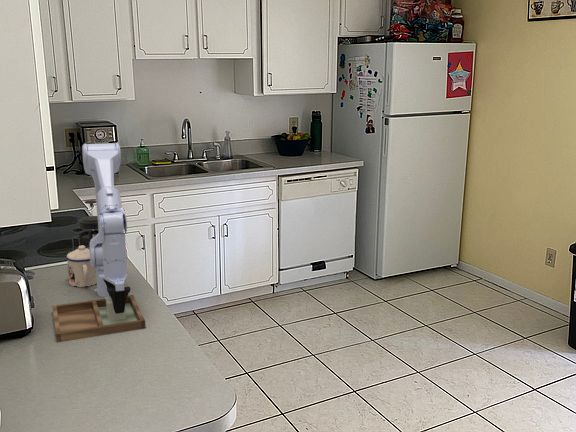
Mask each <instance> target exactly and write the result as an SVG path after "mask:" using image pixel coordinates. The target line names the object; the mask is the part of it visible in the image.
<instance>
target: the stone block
mask: <svg viewBox="0 0 576 432" xmlns="http://www.w3.org/2000/svg"><path fill="white" fill-rule="evenodd" d="M105 299H106V314H107V318H108V321H115V320H122V319H126V306H125V310H124V313H118V314H116V313H115V311H114V307H113V303H112V299H111V297H105Z"/></svg>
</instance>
